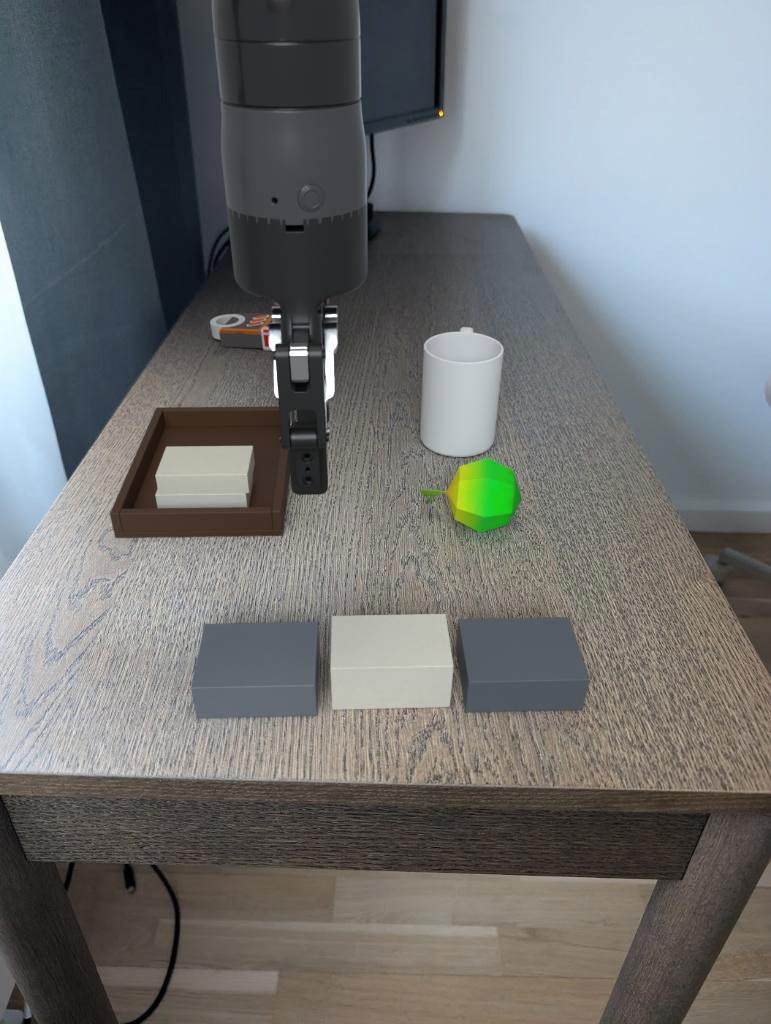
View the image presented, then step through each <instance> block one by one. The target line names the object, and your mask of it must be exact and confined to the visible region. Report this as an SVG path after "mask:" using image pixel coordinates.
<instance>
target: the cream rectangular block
mask: <svg viewBox="0 0 771 1024" xmlns="http://www.w3.org/2000/svg"><path fill="white" fill-rule="evenodd" d="M448 625H449V624H448V620H447V614H446V613H423V614H422V613H419V614H418V613H416V614H415V613H414V614H410V613H409V614H407V613H406V614H362V615H361V614H360V615H359V614H357V615H356V614H355V615H353V614H352V615H331V626H330V627H331V630H330V666H329V668H330V691H331V710H332V711H335V710H336V711H337V710H338V711H339V710H340V711H341V710H342V711H343V710H380V709H381V710H383V709H386V710H387V709H426V708H427V709H428V708H429V709H431V708H451V701H452V700H451V698H452V688H453V678H454V677H453V676H454V660H453V654H452V646H451V639H450V633H449V626H448Z"/></svg>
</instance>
